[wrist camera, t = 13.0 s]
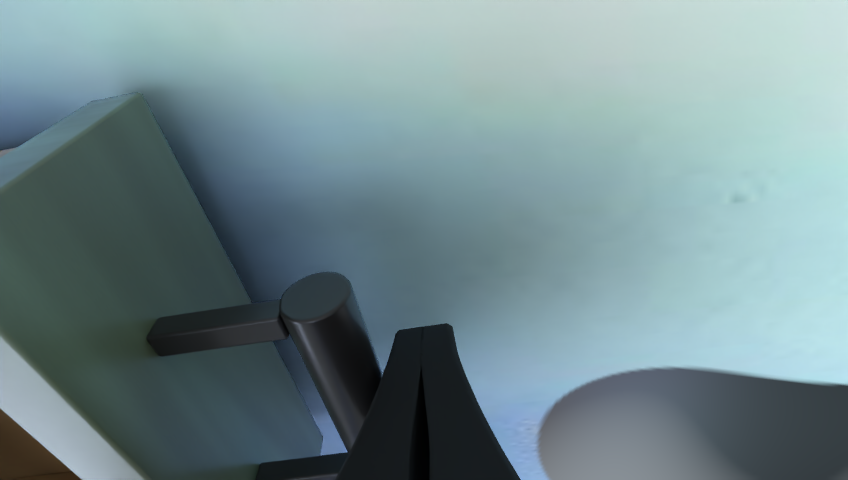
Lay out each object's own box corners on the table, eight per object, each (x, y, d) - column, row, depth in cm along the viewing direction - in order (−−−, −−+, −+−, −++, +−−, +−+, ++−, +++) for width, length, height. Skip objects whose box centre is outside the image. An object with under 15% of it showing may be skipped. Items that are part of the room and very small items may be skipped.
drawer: (326, 54, 10) (250, 189, 5) (431, 423, 17) (438, 612, 13) (-416, 199, 11) (-981, 401, 7) (-24, 479, 19) (-165, 665, 14)
